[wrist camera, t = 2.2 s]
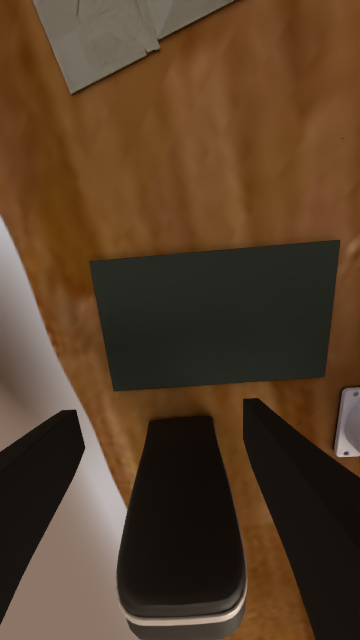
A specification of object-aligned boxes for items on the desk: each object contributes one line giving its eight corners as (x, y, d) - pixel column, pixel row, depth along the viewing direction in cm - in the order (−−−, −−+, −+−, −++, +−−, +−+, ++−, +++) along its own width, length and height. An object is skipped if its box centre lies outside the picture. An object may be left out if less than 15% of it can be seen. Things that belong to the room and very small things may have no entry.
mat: (335, 240, 15) (340, 239, 15) (321, 374, 18) (325, 377, 17) (91, 261, 16) (88, 261, 15) (115, 388, 18) (113, 391, 18)
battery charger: (151, 447, 20) (115, 661, 9) (146, 418, 19) (99, 614, 8) (216, 442, 20) (261, 655, 9) (214, 412, 19) (260, 606, 8)
